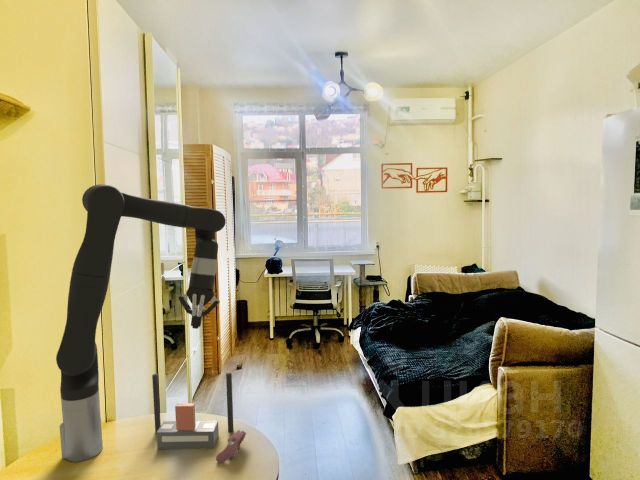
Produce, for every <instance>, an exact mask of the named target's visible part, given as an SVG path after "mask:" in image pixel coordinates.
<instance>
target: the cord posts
mask: <svg viewBox="0 0 640 480" xmlns="http://www.w3.org/2000/svg"><path fill="white" fill-rule="evenodd" d="M151 377H152V380H151V381H152V393H153V394H152V396H153V414H154V429H155V430H154V431H155V432H154V433H155V434H156V432H157V431H158V429H159V428H160V426H161V425H162V424H161V423H162V422H161V408H160V407H161V406H160V390H159V389H160V386H159V374H158V373H154V374H152V375H151ZM225 379H226V380H225V381H226V384H225V385H226V404H227V407H226V409H227V431H228V433H233V432H234V429H235V428H234V410H233V409H234V407H233V402H234V401H233V380H232V379H233V376H232V372H227V373H226V375H225Z"/></svg>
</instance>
